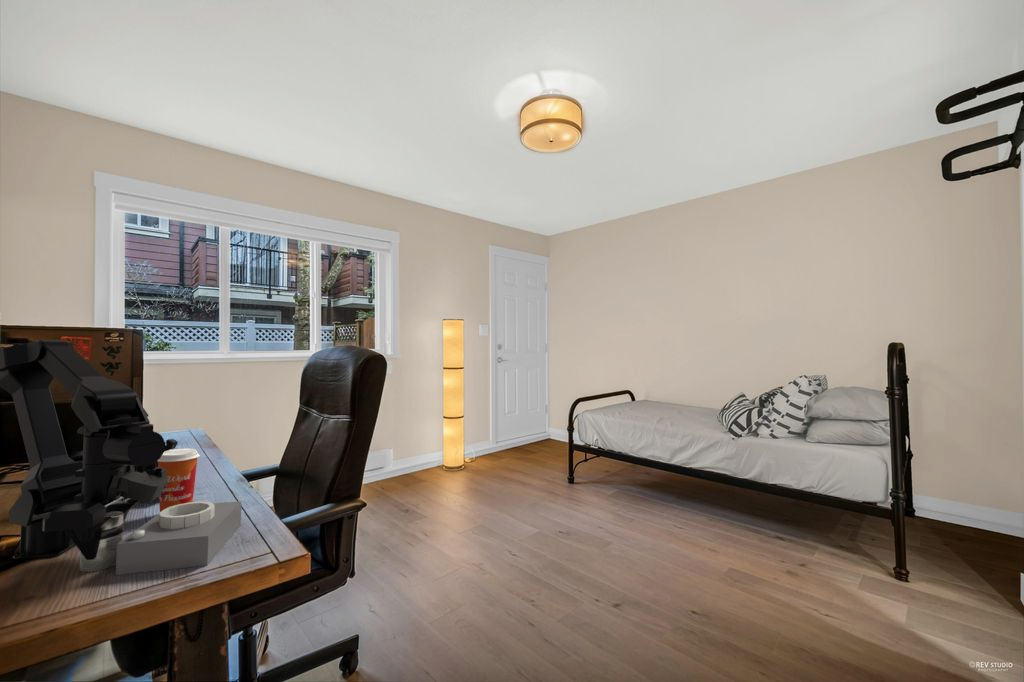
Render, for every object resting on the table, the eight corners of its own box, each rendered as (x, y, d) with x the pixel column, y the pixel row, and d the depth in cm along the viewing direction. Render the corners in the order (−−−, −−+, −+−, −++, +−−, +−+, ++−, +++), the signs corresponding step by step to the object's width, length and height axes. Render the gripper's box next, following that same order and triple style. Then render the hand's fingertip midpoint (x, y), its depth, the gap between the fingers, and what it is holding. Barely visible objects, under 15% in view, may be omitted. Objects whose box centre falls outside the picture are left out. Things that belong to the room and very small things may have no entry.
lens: (70, 573, 71) (73, 524, 72) (91, 558, 77) (94, 512, 77) (110, 569, 73) (113, 521, 73) (128, 555, 78) (131, 510, 78)
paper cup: (146, 522, 93) (149, 456, 93) (164, 509, 100) (166, 448, 100) (188, 519, 95) (191, 454, 95) (203, 507, 102) (205, 447, 102)
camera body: (115, 574, 71) (117, 531, 71) (168, 531, 88) (169, 496, 89) (207, 565, 75) (208, 524, 75) (240, 525, 92) (241, 491, 92)
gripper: (131, 472, 68) (127, 572, 68) (184, 447, 86) (180, 526, 86) (42, 476, 65) (37, 582, 65) (115, 449, 83) (112, 532, 83)
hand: (101, 551), depth 75 cm, fingers closed on lens, 5 cm apart
